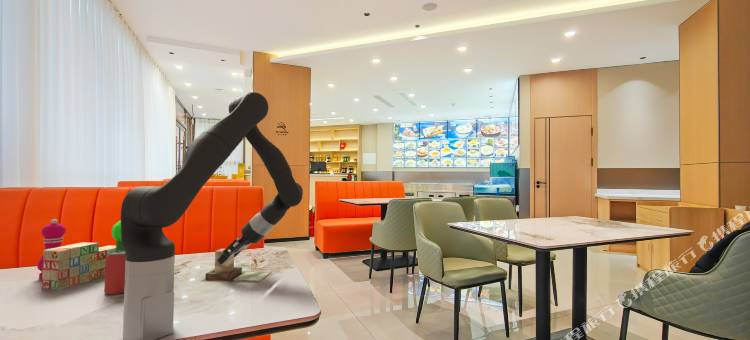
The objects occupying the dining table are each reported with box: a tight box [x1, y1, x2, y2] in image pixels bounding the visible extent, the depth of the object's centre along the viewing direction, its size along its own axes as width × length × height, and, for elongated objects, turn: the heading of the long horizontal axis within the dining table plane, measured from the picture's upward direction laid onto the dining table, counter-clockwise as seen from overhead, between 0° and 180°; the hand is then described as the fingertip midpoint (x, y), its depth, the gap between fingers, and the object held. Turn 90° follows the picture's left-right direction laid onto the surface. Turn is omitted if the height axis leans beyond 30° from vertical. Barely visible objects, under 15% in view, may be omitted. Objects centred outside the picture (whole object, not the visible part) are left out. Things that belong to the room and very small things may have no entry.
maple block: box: [214, 248, 235, 273], centre depth 112 cm, size 4×4×9 cm
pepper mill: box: [37, 218, 67, 281], centre depth 112 cm, size 7×7×20 cm
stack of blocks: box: [41, 241, 116, 291], centre depth 110 cm, size 21×6×12 cm, turn 171°
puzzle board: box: [200, 266, 273, 284], centre depth 112 cm, size 20×12×3 cm, turn 88°
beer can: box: [103, 250, 126, 296], centre depth 99 cm, size 7×7×12 cm
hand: (225, 259), depth 112 cm, fingers open, 8 cm apart
